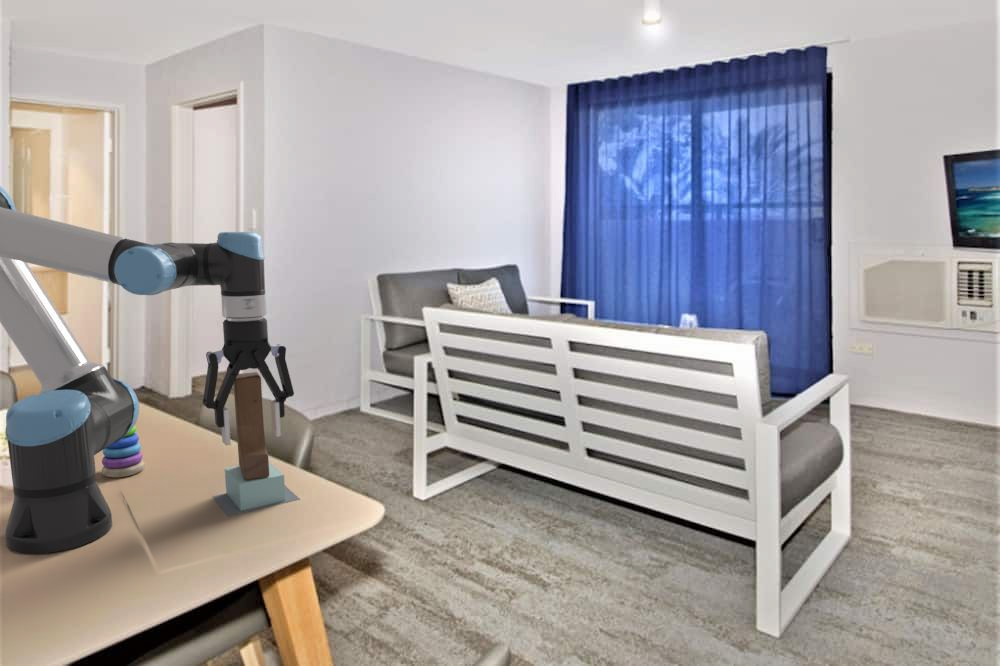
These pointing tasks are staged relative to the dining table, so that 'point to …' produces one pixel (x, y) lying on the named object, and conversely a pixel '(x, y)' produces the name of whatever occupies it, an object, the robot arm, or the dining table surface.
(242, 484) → the plinth
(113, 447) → the stacking toy
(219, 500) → the mat
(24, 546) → the robot arm
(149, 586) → the dining table surface
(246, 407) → the wooden block
